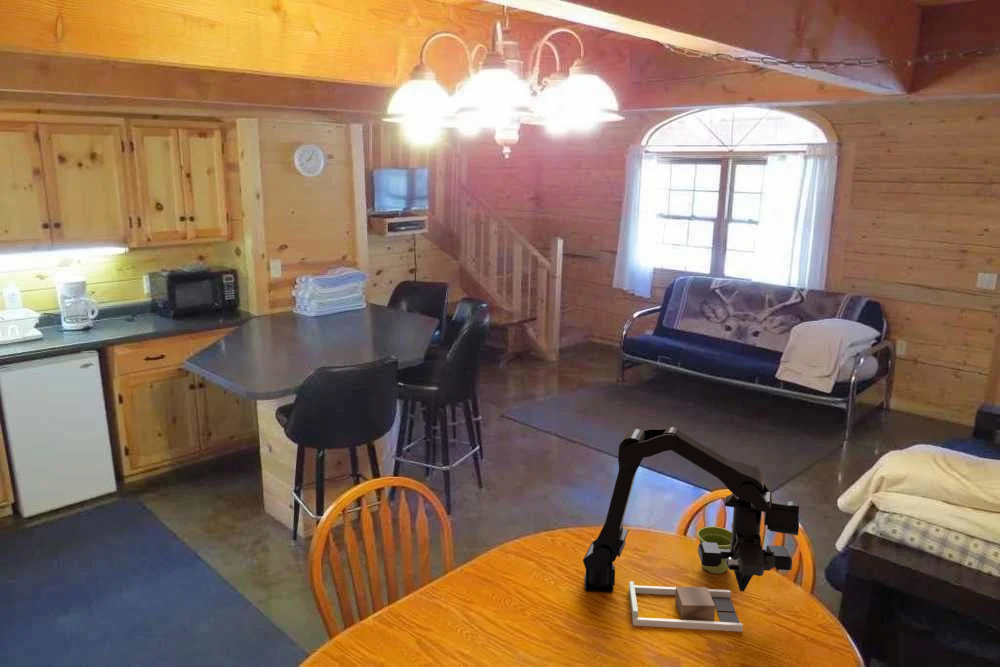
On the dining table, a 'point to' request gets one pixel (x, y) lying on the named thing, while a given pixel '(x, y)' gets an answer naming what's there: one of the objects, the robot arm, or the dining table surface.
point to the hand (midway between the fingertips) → (741, 590)
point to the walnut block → (695, 603)
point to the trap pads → (725, 609)
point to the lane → (674, 622)
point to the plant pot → (719, 537)
